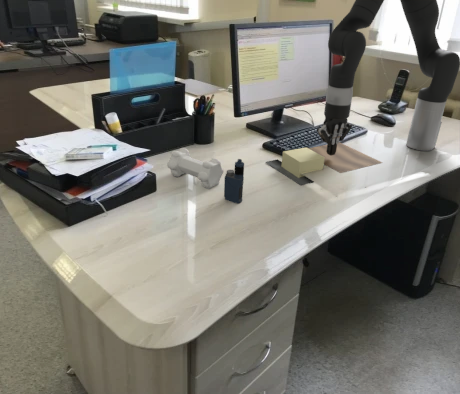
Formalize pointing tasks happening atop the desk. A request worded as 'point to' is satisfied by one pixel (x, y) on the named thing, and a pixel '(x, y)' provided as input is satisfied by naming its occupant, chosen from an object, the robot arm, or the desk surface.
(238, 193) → the vaping device
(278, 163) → the mat
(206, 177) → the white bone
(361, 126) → the desk surface
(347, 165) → the brown cloth
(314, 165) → the memo block
